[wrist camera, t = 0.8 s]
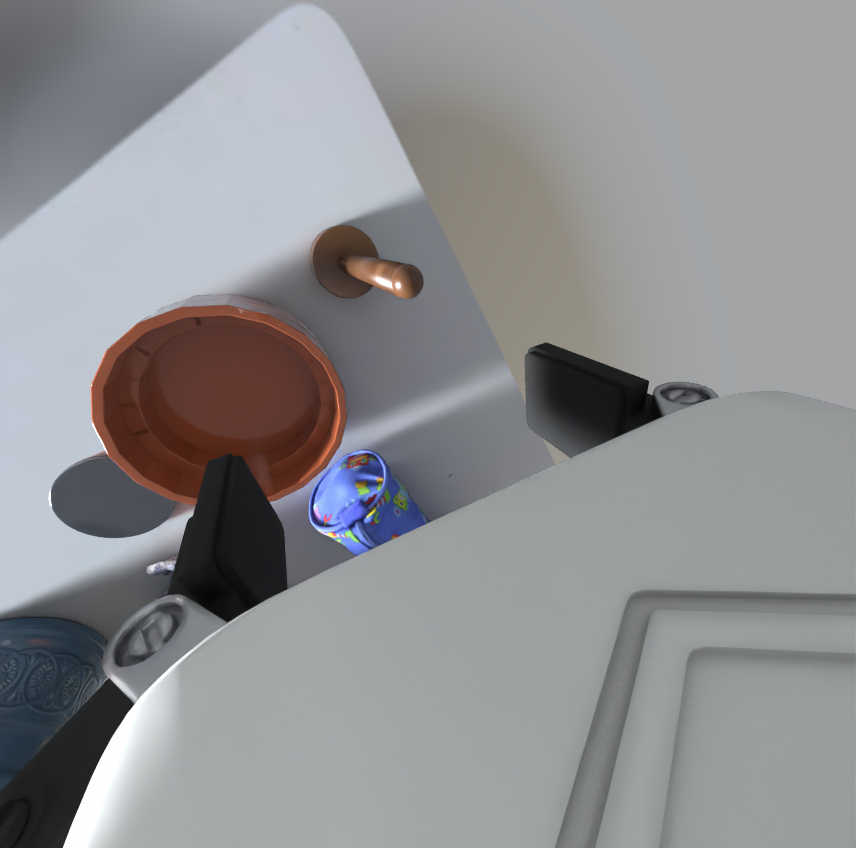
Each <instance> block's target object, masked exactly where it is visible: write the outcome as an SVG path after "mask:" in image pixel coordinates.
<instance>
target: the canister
mask: <svg viewBox="0 0 856 848" xmlns="http://www.w3.org/2000/svg"><path fill="white" fill-rule="evenodd" d="M107 646H108V644H107V642H106V641H105V640H104V638H103V637H102V636H101V635H100V634H98V633H97V632H96V631H94V630H92V629H90V628H88V627H86V626H84V625H81V624H78V623H75V622H71V621H66V620H61V619H53V618H18V619H9V620H2V621H0V791H1V790H2V789H3V788H4V787H5V786H6V785H7V784H8V783H9V782H10V781H11V780H12V779H13V777H14V776H15V775H16V774H17V773H18V772H19V771H20V770H21V769H22V768H23V767H24V766H25V765H26V764H27V763H28V762H29V761H30V760H31V759H32V758H33V757H34V756H35V755H36V754H37V753H38V752H39V750H40V749H41V748H42V747H43V746H44V745H45V744H46V743H47V742H48V741H49V740H50V739H51V738H52V737H53V736H54V735H55V734H56V733H57V732H58V731H59V730H60V729H61V728H62V727H63V726H64V724H65V723H66V722H67V721H68V720H69V719H70V718H71V717H72V716H73V715H74V714H75V713H76V712H77V711H78V710H79V709H80V708H81V707H82V706H83V705H84V704H85V703H86V702H87V701H88V700H89V698H90V697H91V696H92V695H93V694H94V693H95V692H96V691H97V690H98V689H99V688H100V687H101V686H102V685H103V683H104V680H105V677H106V674H105V672H104V670H103V667H102V660H103V654H104V652H105V650H106V648H107Z"/></svg>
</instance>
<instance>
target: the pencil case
mask: <svg viewBox="0 0 856 848" xmlns="http://www.w3.org/2000/svg"><path fill="white" fill-rule="evenodd" d="M309 518H310V521H311V523H312V525H313V526H314V527H315V528H316V529H317V530H318V531H319V532H320V533H322V534H324V535H327V536H329V537H331V538H332V539H334V540H336V541H337V542H339V543H341V544H343V545H344V546H345V547H347V548H348V549H349V551H351V552H352V553H353V554H354V555H356V556H358V555H360V554H362V553H365V552H367V551H369V550H371V549H373V548H375V547H378V546H380V545H382V544H384V543H386V542H388V541H390V540H393V539H395V538H397V537H399V536H401V535H403V534H406V533H408V532H410V531H412V530H414V529H416V528H419V527H421V526H423V525H425V524H427V523H429V522H430V521H429V520H428V519H427V518H426V517H425V516H424V514H423V512H422V510H421V509H420V508H419V507H418V506H417V505H416V503H415V502H414V501H413V500H412V499H411V497H410V495H409V493H408V492H407V490H406V488H405V487H404V485H403V484H402V483H401V482H400V481H398V480H397V479H395V478H394V477H393V476H392V475H391V472H390V469H389V467H388V465H387V463H386V462H385V460H384V459H383V458H382V457H381V456H380V455H379V454H378V453H376V452H374V451H371V450H358V451H355V452H353V453H351V454H348V455H346V456H344V457H343V458H341V459H340V460H339V461H338V462H337V463H336V464H334V465H333V467H332V468H330V469H329V470H328V471H327V472H326V473H325V474H324V475H323V476H322V477H321V479H320V480H319V481H318V483H317V484H316V486H315V487H314V489H313V492H312V494H311V497H310V501H309Z"/></svg>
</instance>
